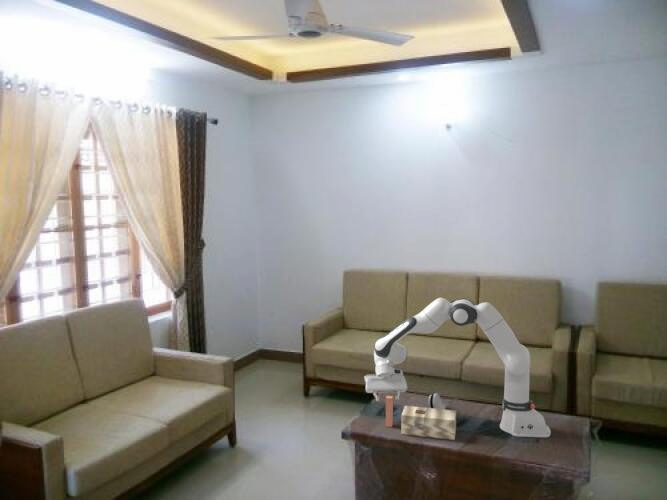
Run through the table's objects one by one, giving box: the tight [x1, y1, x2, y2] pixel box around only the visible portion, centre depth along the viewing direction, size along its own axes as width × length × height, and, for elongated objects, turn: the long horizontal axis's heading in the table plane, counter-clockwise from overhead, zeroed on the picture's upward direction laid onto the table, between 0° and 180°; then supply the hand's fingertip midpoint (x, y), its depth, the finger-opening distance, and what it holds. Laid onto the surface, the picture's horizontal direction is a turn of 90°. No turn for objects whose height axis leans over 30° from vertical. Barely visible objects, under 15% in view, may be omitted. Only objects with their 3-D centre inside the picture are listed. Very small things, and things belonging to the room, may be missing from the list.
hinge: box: [427, 393, 446, 410], centre depth 283 cm, size 17×5×10 cm, turn 163°
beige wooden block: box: [400, 405, 457, 441], centre depth 259 cm, size 24×12×9 cm, turn 75°
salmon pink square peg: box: [385, 395, 394, 428], centre depth 266 cm, size 3×3×14 cm
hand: (387, 400), depth 269 cm, fingers open, 8 cm apart
